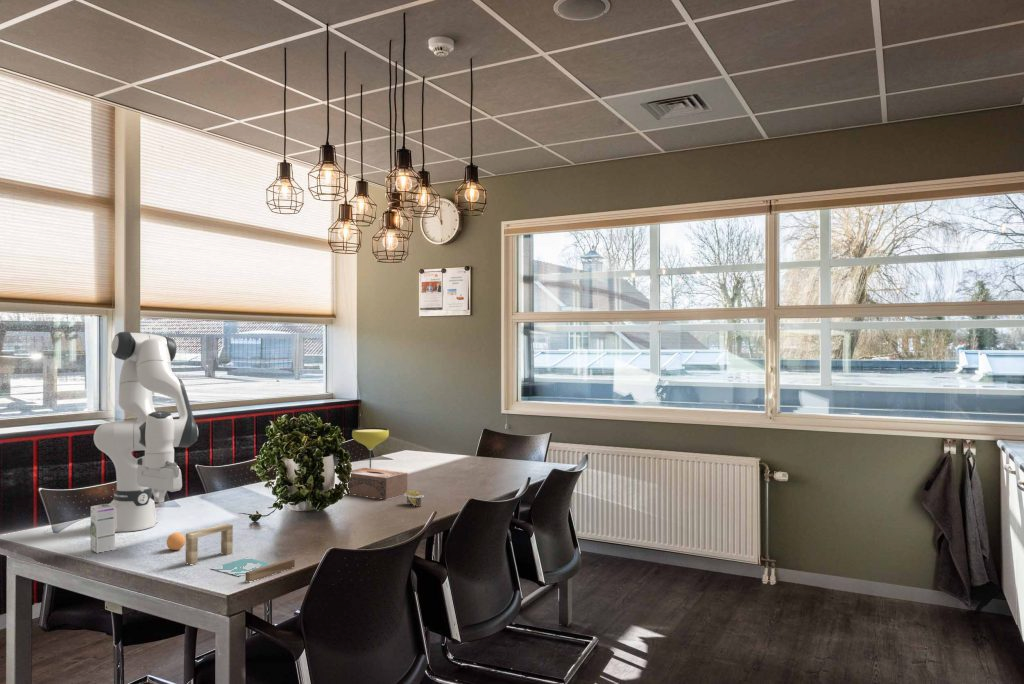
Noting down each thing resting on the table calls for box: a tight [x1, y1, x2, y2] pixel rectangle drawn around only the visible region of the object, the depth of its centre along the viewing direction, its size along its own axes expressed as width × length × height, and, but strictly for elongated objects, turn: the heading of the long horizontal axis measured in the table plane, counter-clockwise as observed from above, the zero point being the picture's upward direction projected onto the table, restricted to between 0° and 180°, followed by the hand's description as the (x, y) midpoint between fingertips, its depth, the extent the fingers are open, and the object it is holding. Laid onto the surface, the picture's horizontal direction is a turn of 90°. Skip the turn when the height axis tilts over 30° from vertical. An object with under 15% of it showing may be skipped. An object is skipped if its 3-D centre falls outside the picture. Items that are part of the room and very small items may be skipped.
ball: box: [166, 532, 186, 551], centre depth 231 cm, size 6×6×6 cm
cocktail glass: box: [351, 427, 390, 469], centre depth 353 cm, size 18×18×25 cm
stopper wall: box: [245, 557, 295, 582], centre depth 207 cm, size 2×16×2 cm, turn 149°
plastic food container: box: [403, 489, 425, 507], centre depth 297 cm, size 12×18×7 cm, turn 55°
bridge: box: [185, 523, 234, 565], centre depth 222 cm, size 3×14×9 cm, turn 149°
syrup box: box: [90, 503, 116, 554], centre depth 230 cm, size 6×6×14 cm
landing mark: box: [213, 557, 272, 577], centre depth 213 cm, size 13×13×1 cm
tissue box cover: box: [348, 467, 408, 500], centre depth 320 cm, size 26×14×10 cm, turn 60°
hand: (159, 502), depth 236 cm, fingers closed
